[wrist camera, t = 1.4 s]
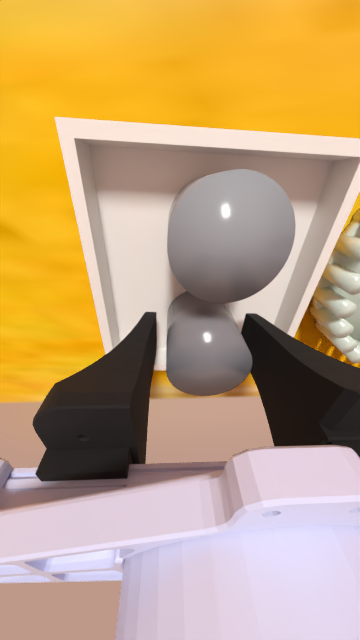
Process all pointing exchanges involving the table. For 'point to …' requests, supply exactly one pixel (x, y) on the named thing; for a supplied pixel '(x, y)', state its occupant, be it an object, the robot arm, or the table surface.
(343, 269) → the celadon bowl
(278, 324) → the parts tray
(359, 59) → the table surface
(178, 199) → the pebble slate
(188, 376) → the pebble charcoal
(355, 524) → the robot arm
